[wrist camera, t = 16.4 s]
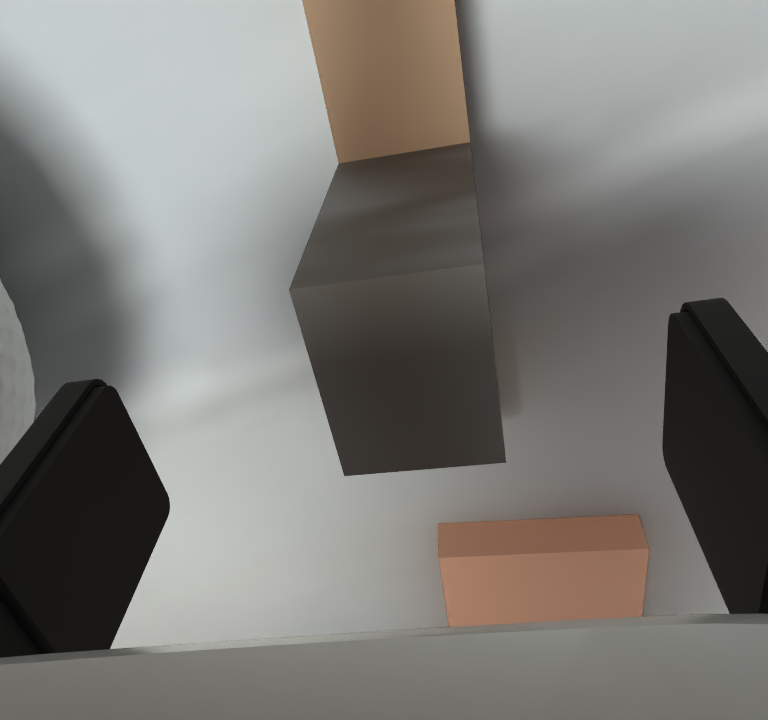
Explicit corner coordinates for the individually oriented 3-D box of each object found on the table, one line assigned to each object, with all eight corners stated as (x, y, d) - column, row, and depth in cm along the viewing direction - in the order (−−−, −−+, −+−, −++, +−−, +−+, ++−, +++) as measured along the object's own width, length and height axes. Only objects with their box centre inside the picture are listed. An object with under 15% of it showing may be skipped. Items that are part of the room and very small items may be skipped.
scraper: (440, -130, 14) (437, -157, 7) (499, 403, 21) (524, 628, 15) (299, -98, 14) (175, -94, 8) (406, 412, 22) (391, 634, 15)
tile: (624, 623, 28) (636, 669, 26) (454, 628, 29) (455, 672, 27) (634, 503, 24) (649, 548, 22) (438, 514, 25) (438, 558, 23)
